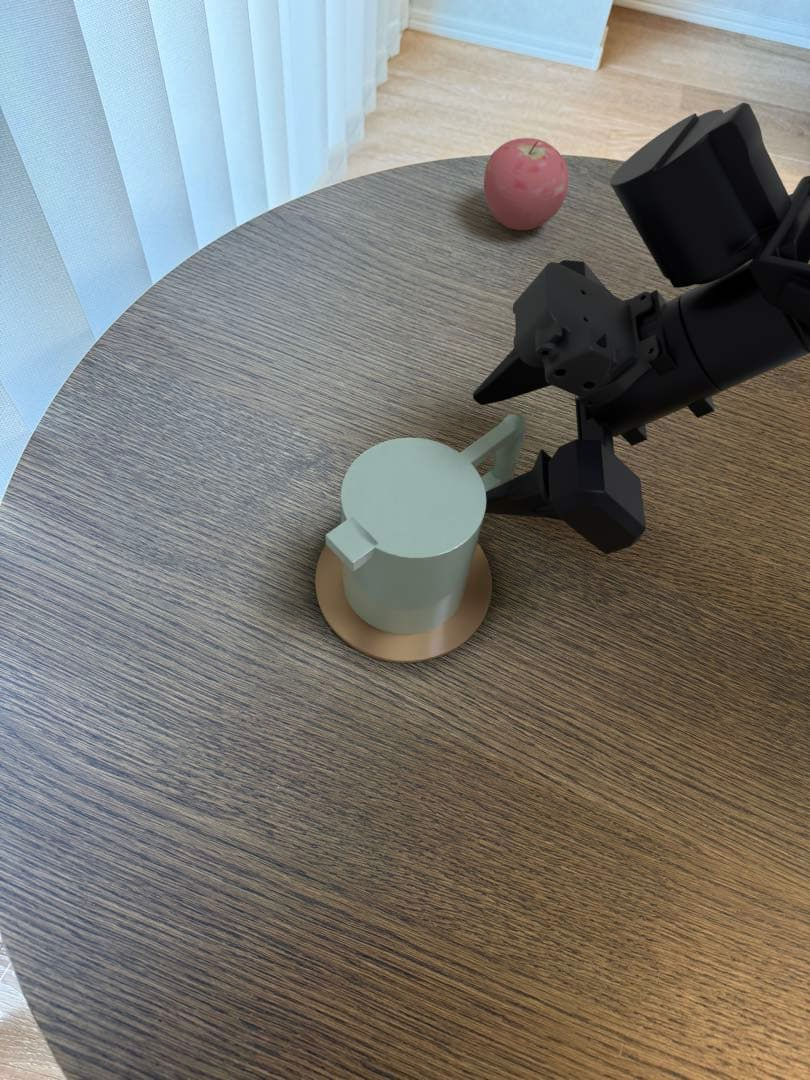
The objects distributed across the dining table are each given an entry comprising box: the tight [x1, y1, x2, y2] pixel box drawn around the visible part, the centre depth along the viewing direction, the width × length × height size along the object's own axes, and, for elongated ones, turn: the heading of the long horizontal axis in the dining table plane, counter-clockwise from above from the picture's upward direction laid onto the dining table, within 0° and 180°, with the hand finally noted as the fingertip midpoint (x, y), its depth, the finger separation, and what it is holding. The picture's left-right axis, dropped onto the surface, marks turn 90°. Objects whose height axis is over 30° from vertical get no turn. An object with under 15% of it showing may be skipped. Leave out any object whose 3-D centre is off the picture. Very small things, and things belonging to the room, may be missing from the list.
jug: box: [324, 413, 528, 635], centre depth 52 cm, size 15×8×10 cm, turn 132°
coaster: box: [314, 542, 493, 664], centre depth 56 cm, size 12×12×1 cm
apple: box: [483, 137, 570, 231], centre depth 73 cm, size 7×7×8 cm
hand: (475, 451), depth 54 cm, fingers open, 8 cm apart
